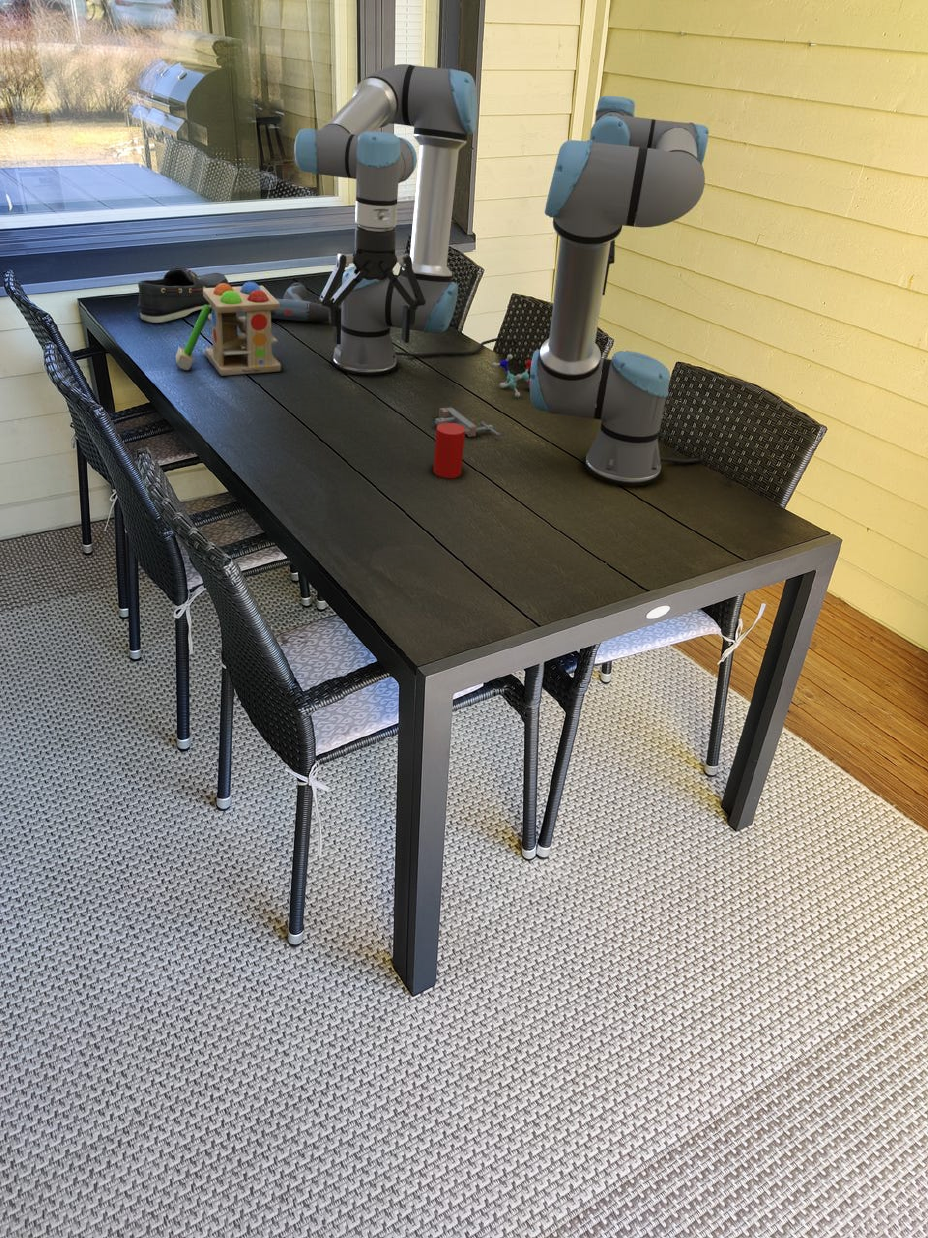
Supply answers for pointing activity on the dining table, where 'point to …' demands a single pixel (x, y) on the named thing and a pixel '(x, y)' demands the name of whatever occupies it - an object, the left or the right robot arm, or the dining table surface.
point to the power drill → (299, 306)
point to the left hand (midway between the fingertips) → (371, 341)
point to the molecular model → (511, 377)
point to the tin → (449, 450)
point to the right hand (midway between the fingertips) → (588, 285)
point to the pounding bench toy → (229, 347)
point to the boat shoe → (175, 294)
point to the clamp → (455, 417)
